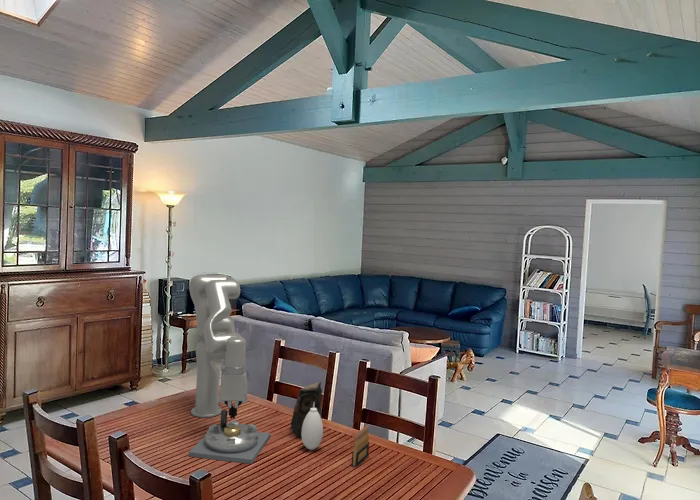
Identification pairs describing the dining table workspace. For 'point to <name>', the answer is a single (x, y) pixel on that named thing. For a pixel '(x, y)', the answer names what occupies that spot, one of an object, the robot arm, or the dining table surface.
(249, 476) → the dining table surface
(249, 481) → the dining table surface
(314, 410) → the white air blower bulb
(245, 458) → the plate
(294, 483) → the dining table surface
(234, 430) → the grey crank wheel
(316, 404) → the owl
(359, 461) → the brown flat upright block
